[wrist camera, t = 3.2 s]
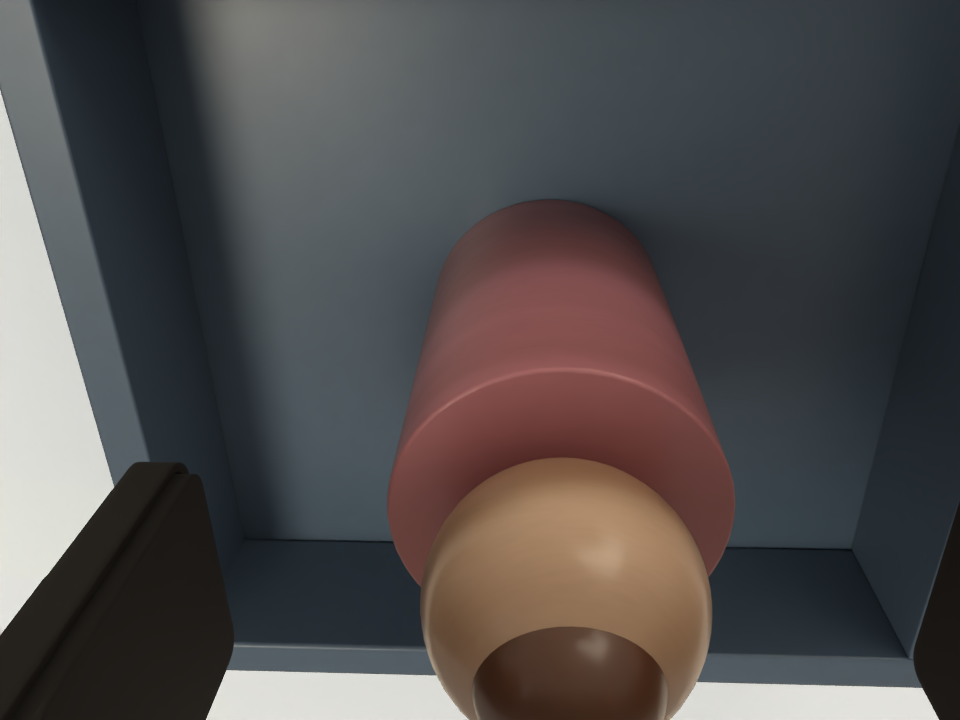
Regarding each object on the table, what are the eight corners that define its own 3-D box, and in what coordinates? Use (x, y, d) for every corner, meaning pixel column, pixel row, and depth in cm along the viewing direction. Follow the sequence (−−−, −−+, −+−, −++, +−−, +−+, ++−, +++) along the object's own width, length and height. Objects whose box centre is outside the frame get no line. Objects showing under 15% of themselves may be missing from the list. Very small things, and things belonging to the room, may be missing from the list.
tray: (87, -75, 14) (-49, -75, 10) (1048, -97, 13) (1227, -105, 10) (224, 549, 20) (165, 670, 17) (870, 560, 19) (940, 690, 16)
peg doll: (429, 199, 15) (301, 575, 6) (669, 198, 15) (874, 585, 6) (439, 402, 17) (354, 894, 8) (650, 403, 17) (783, 911, 8)
